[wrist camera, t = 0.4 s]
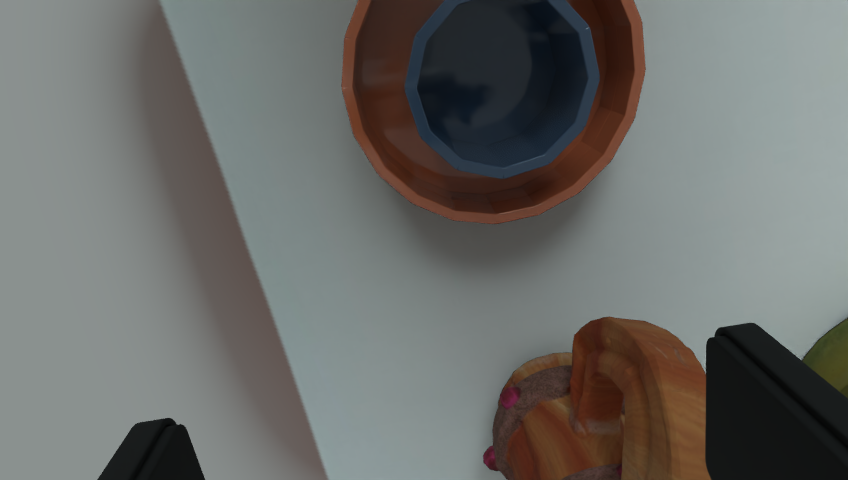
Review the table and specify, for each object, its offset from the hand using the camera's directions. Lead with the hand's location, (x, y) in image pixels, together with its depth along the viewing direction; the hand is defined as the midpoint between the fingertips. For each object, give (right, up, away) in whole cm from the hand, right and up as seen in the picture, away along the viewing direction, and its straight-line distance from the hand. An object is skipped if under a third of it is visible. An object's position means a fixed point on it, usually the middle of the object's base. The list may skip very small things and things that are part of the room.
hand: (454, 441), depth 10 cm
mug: (+7, -4, +25) cm, 26 cm away
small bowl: (+2, +12, +18) cm, 21 cm away
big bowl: (+2, +12, +18) cm, 22 cm away
